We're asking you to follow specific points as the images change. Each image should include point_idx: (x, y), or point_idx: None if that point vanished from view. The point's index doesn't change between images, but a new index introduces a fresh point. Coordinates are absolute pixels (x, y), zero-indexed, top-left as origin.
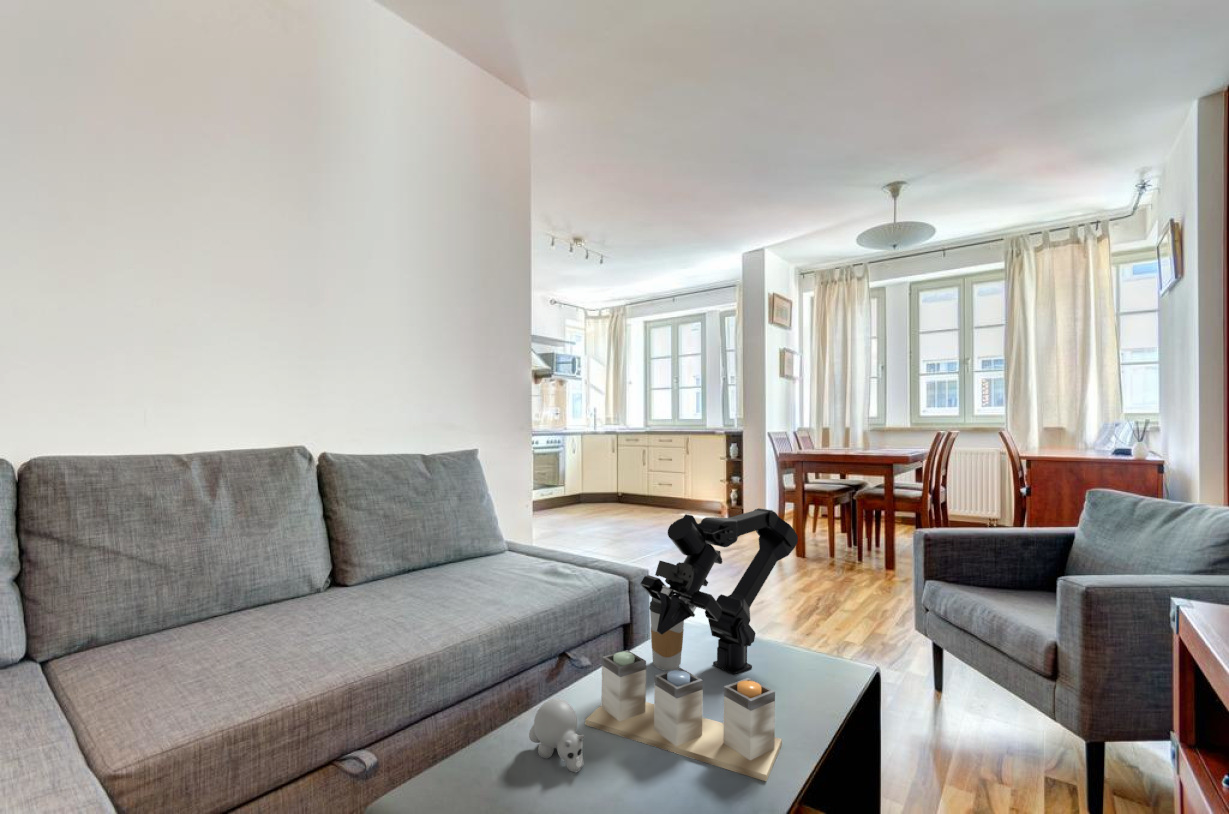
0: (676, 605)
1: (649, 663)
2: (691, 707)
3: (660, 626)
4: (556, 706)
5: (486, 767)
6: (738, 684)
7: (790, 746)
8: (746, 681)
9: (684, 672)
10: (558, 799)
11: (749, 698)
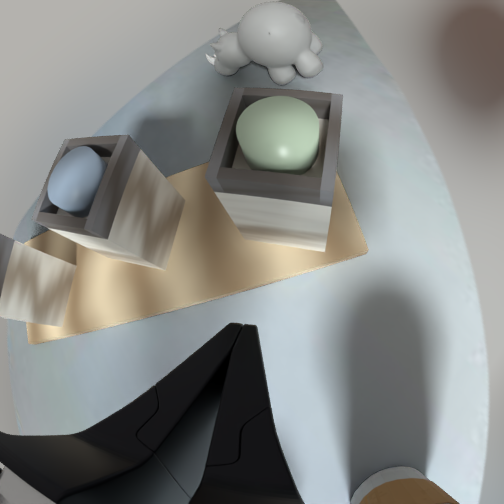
0: (54, 438)
1: (428, 466)
2: None
3: (230, 339)
4: (258, 5)
5: (314, 22)
6: None
7: (28, 349)
8: None
9: (62, 198)
10: (206, 46)
11: None
